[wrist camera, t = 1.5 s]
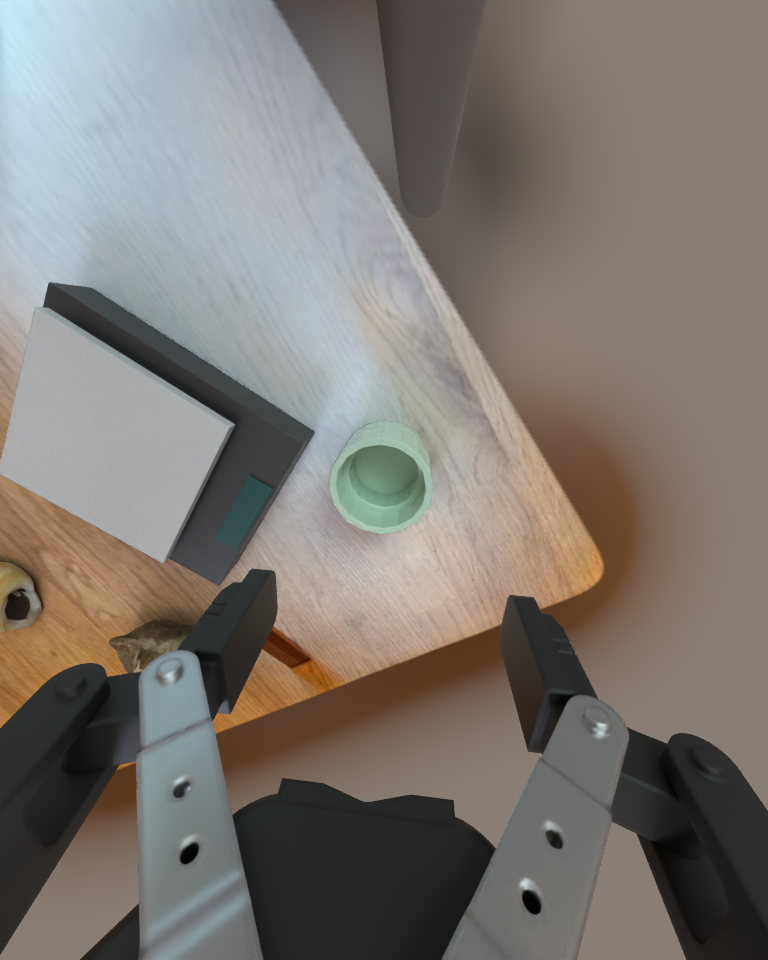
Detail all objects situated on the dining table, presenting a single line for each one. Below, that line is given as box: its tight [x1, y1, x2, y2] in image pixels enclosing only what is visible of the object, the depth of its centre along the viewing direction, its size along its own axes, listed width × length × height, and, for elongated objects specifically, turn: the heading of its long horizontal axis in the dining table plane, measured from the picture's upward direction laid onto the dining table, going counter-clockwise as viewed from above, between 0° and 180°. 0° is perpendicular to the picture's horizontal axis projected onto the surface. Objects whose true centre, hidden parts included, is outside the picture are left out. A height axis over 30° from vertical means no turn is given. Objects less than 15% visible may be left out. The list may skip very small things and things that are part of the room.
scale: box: [0, 282, 314, 585], centre depth 26 cm, size 14×17×5 cm
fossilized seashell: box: [109, 620, 193, 674], centre depth 33 cm, size 8×7×10 cm
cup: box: [329, 421, 434, 534], centre depth 25 cm, size 6×6×5 cm
